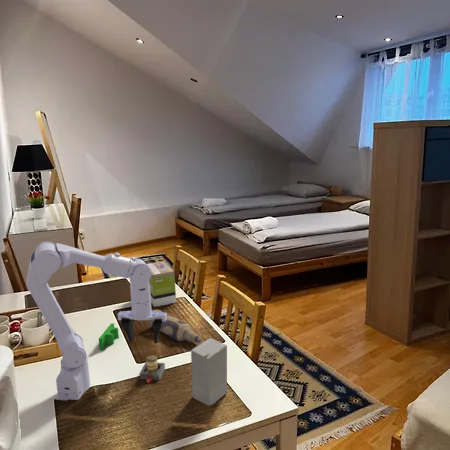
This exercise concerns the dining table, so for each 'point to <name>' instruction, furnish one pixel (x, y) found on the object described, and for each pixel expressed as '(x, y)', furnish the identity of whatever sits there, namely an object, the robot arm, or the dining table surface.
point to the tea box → (162, 284)
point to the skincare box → (209, 371)
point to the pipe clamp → (108, 336)
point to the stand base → (152, 373)
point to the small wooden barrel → (152, 364)
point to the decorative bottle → (177, 329)
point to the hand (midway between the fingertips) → (144, 341)
